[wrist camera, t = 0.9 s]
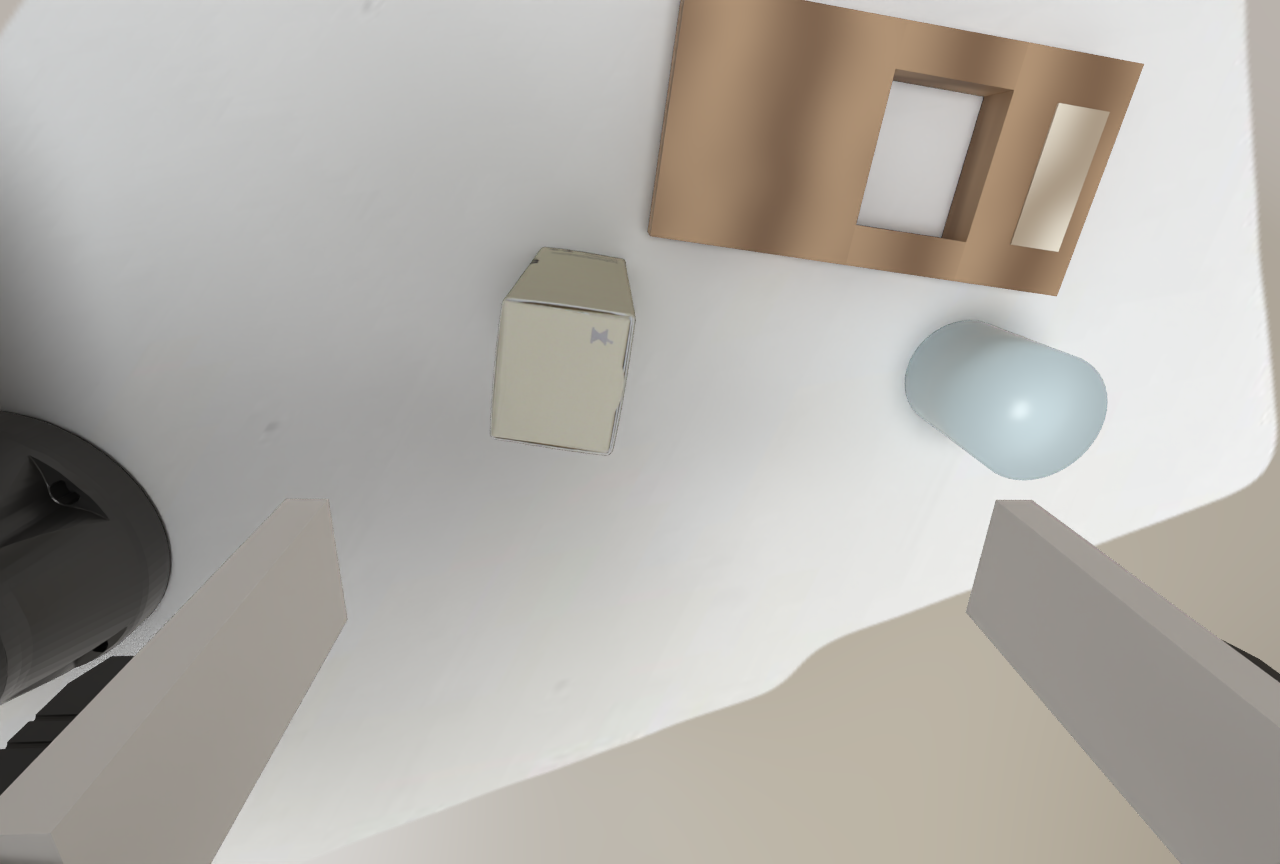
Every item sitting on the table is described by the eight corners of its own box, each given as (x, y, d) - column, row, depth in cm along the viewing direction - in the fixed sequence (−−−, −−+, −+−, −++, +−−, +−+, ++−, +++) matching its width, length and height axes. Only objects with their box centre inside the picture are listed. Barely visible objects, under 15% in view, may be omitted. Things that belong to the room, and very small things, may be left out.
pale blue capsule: (891, 419, 36) (954, 472, 29) (923, 313, 34) (999, 344, 27) (992, 432, 36) (1076, 486, 30) (1030, 328, 34) (1129, 362, 28)
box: (540, 244, 32) (498, 284, 20) (628, 259, 32) (640, 307, 20) (528, 348, 33) (483, 442, 21) (612, 360, 34) (614, 460, 22)
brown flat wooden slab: (647, 232, 32) (650, 236, 29) (681, -6, 28) (687, -23, 26) (1026, 288, 33) (1058, 296, 31) (1104, 72, 30) (1146, 63, 28)
